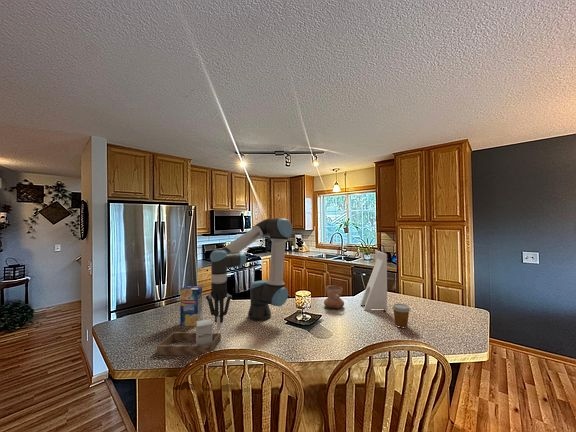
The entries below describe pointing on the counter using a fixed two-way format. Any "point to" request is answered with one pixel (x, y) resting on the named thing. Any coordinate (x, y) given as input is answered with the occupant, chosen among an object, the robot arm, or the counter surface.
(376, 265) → the grey tall wedge
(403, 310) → the disposable coffee cup
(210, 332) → the supplement box
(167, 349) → the frame
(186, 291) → the beverage box
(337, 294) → the ceramic jug
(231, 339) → the counter surface
